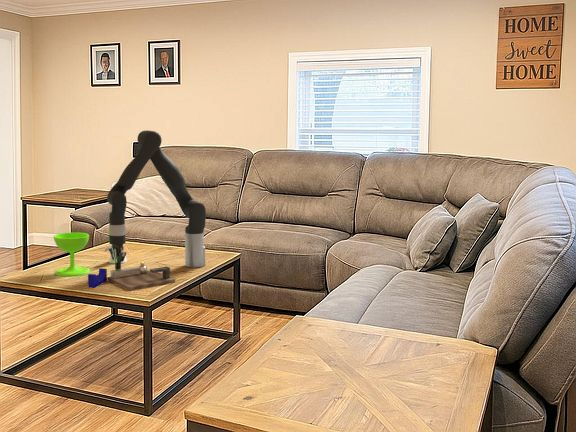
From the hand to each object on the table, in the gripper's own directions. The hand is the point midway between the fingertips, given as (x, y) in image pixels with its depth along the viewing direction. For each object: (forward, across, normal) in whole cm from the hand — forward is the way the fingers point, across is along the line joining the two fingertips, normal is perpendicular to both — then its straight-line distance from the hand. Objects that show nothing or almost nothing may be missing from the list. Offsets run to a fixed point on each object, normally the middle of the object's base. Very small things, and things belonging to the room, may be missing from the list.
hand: (118, 269), depth 295 cm
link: (+1, -7, -2) cm, 7 cm away
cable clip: (+4, -7, +14) cm, 16 cm away
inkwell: (+3, +24, -10) cm, 26 cm away
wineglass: (+3, +19, +14) cm, 24 cm away
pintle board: (+3, -15, -4) cm, 16 cm away
